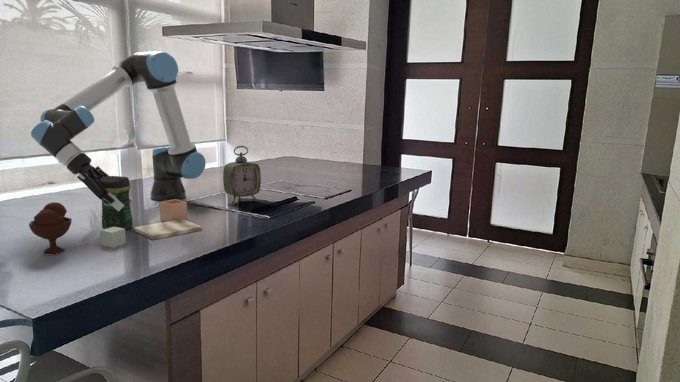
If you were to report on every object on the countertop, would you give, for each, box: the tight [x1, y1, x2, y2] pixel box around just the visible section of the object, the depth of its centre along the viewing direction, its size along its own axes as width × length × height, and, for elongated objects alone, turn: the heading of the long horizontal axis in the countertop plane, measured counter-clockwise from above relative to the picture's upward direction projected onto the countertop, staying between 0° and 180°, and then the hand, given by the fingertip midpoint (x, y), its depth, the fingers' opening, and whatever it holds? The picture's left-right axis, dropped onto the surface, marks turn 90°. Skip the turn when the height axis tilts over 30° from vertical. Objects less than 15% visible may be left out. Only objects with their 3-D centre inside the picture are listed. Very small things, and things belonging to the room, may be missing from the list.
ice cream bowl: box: [28, 201, 72, 255], centre depth 145 cm, size 11×11×15 cm
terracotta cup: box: [159, 199, 189, 222], centre depth 185 cm, size 7×7×7 cm
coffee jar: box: [99, 175, 134, 230], centre depth 171 cm, size 10×8×19 cm
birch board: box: [133, 219, 203, 241], centre depth 171 cm, size 18×14×1 cm
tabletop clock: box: [222, 145, 262, 206], centre depth 214 cm, size 14×9×25 cm, turn 131°
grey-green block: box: [99, 227, 127, 248], centre depth 154 cm, size 5×5×5 cm
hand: (126, 205), depth 172 cm, fingers closed on coffee jar, 8 cm apart
